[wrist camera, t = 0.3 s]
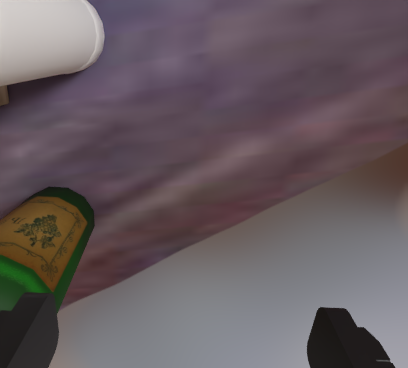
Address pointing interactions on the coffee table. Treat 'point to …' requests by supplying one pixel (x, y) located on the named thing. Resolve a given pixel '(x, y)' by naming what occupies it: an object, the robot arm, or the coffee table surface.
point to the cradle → (4, 95)
